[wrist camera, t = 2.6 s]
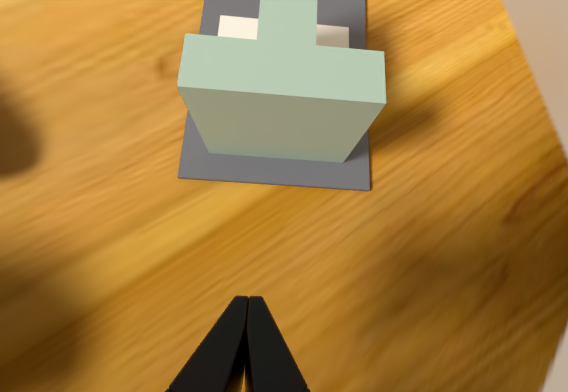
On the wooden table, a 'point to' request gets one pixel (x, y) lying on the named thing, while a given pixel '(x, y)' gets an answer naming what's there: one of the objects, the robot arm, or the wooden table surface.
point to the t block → (281, 88)
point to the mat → (277, 171)
